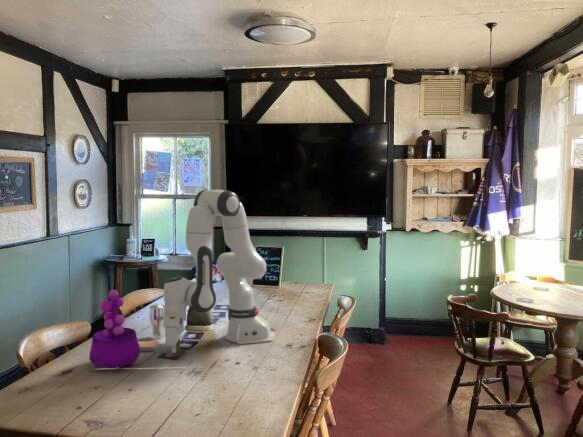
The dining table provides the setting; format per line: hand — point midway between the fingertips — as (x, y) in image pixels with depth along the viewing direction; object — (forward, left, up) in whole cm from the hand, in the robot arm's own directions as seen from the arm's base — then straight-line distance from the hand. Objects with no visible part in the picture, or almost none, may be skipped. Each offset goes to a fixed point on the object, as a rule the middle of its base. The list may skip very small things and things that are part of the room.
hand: (175, 349), depth 198 cm
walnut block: (0, 0, -3) cm, 3 cm away
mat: (+12, -8, -3) cm, 15 cm away
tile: (+10, -8, -1) cm, 13 cm away
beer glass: (+12, -22, -3) cm, 25 cm away
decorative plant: (+22, +8, -3) cm, 24 cm away
